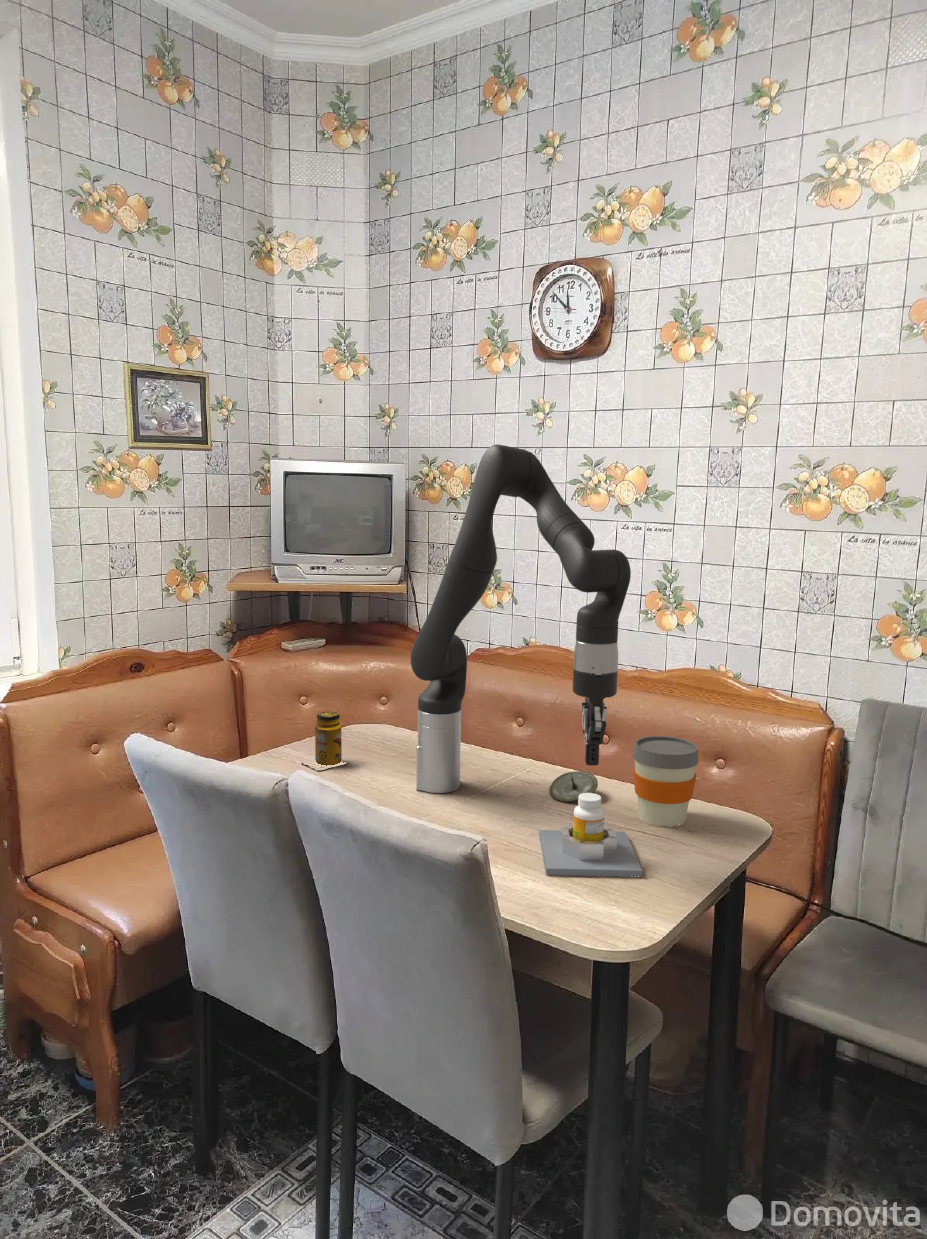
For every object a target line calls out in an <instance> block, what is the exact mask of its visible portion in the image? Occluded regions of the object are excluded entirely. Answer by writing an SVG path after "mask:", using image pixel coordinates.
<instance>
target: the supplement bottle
mask: <svg viewBox="0 0 927 1239" xmlns="http://www.w3.org/2000/svg"><path fill="white" fill-rule="evenodd" d="M577 802H578V803H577V804H578V805H577V806H575V808H574V810H573V822H572V823H573V837H574V838H576V839H579V840H581V841H598V842H600V841H602V840H603V839H604V826H605V816H606V815H605V810H604V809H603V807H601V806H602V797H601V795H600V794H597V793H595V792H594V793H582V794H580V795H579V797H578V801H577Z"/></svg>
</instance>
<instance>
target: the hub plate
mask: <svg viewBox="0 0 927 1239" xmlns="http://www.w3.org/2000/svg"><path fill="white" fill-rule="evenodd" d="M538 831H539V832H538V833H539V835H538V837H539V842H540V846H541V847H540V848H541V853H542V857H543V865H544V870H545V875H546V876H563V877H564V876H571V877H572V876H573V877H606V876H609V877H611V878H612V876H613V878H614V876H619V877H618V878H620V877H621V878H642V877H643V876H642V874H643V870H642V867H641V865H640V862H639V861H638V858H637V856H636V853H635V851H634V849H633V846H632V844H631V840H630V839H629V837H628V835H627V832H626V831H615V830H614V831H615V834H616V837H617V854H616V855H614V856H612V857H610V858H608V859H606V860H604V861H580V860H578V859H575V858H573V857H570V856H568V855H566V854H563V853H562V849H561V844H560V835H561V829H539V830H538ZM631 876H633V877H631ZM635 876H636V877H635ZM638 876H639V877H638ZM641 876H642V877H641Z"/></svg>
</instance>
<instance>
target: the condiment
mask: <svg viewBox="0 0 927 1239" xmlns="http://www.w3.org/2000/svg"><path fill="white" fill-rule="evenodd" d="M340 718H341V716H340V713H339V712H337V711H332V710H326V711H321V712H318V713H317V715H316V725H315V727H314V736H315V737H314V740H315V742H314V744H315V745H314V749H315V750H314V751H315V753H314V755H315V756H314V757H315V759H314V760H316V762H317V763H318V764H321V765H326V766H327V765H335V764H338V763H340V762H341V760H342V755H343V754H342V750H343V748H342V747H343V746H342V725H341V723H340V722H341V720H340ZM342 761H343V760H342Z"/></svg>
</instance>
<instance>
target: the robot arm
mask: <svg viewBox="0 0 927 1239" xmlns="http://www.w3.org/2000/svg"><path fill="white" fill-rule="evenodd" d="M475 473H476V474H475V475H474V479H473V484H472V488H471V492H470V495H469V500H468V503H467V507H466V510H465V514H464V517H463V519H462V523H461V526H460V529H459V533H458V535H457V538H456V541H455V543H454V545H453V546H452V549H451V553H450V554H449V558H448V560H447V564H446V567H445V570H444V572H443V576H442V578H441V581H440V584H439V586H438V588H437V589H438V590H437V592H436V595H435V597H434V599H433V603H432V606H431V608H430V610H429V612H428V614H427V617H426V619H425V621H424V623H423V625H422V627H421V629H420V630H419V633H418V635H417V637H416V639H415V641H414V643H413V646H412V648H411V652H410V666H411V667H410V668H411V669H412V672H413V674H414V675H415V676H416V677H417V678H418V679H419V680H421V681H427V682H429V684H428V685H427V687H426V688H425V689H424V690H423V692H422V693H420V695H419V696H418V698H417V744H416V790H417V791H424V792H426V793H433V794H445V793H452V792H454V791H456V790H458V789H460V786H461V747H462V746H461V745H462V744H461V742H462V741H461V736H462V735H461V734H462V733H461V731H462V730H461V729H462V728H461V726H462V702H463V699H464V698H465V694H466V689H467V688H466V685H467V684H466V683H467V670H468V669H467V668H468V654H467V649H466V646H465V644H464V643H465V642H464V641H463V640H462V638H460V637H459V636H458V635H457V634H455V633H456V632H457V630H458V627H459V626H460V624H461V623H462V622H463V620H464V619H465V618H466V616H468V614H469V613H470V612H471V611H472V610H473V608H474V607H475V606H476V605H477V604H478V602H479V601H480V600H481V599H482V597H483V596H484V594H485V592H486V590H487V589H488V586H489V584H490V581H491V578H492V576H493V574H494V571H495V568H496V566H497V565H496V564H497V561H498V556H497V555H498V554H497V546H496V541H495V537H494V530H493V519H494V515H495V514H494V513H495V509H496V506H497V505H498V502H499V499H500V497H501V496H506V497H511V498H520V499H522V500H523V501H525V502H527V503H528V504H529V505H530V506H531V507H532V508H533V510H534V511H535V512H536V523H537V528H538V530H539V532H540V534H541V536H542V538H543V539H544V540H545V541H546V543H547V544H548V545H549V546H550V547H551V548H552V550H553V551H554V552H555V553H556V554H557V555H558V558H559V560H560V563H561V566H562V568H563V570H564V573H565V575H566V578H567V580H568V583H569V584H570V585H571V586H572V587H573V588H575V589H576V590H578V591H580V592H583V593H590V594H591V593H596V595H595V598H594V600H593V601H592V602H590V603H589V604H586V605H584V606H581V607H580V608H579V609H578V611H577V614H576V624H575V625H576V626H575V628H576V629H575V643H574V644H575V645H574V650H573V667H572V669H573V671H572V691H573V692H572V693H574V694H575V695H577V696H578V697H582V698H584V702H583V701H582V702H581V704H580V706H581V707H580V711H581V713H582V714H581V715H582V716H581V727H582V729H583V730H582V733H583V736H584V737H583V740H584V743H585V744H584V747H585V749H584V762H585V764H586V765H587V766H593V767H594V766H598V765H599V763H600V762H599V761H600V758H599V757H600V746H602V745H603V743H604V736H605V731H606V727H607V722H606V718H607V713H608V707H607V706H606V704H605V702H604V699H606V698H608V699H609V698H612V697H614V696H616V694H617V692H618V674H619V673H618V671H619V647H618V641H619V640H618V639H619V637H618V636H619V618H620V614H621V612H622V610H623V606H624V602H625V599H626V596H627V593H628V589H629V587H630V584H631V583H630V582H631V575H632V574H631V572H632V569H631V565H630V562H629V559H628V557H627V556H626V555H625V553H624V552H622V551H621V550H618V549H593V548H594V547H595V541H596V540H595V535H594V534H593V532H592V531H591V529H590V528H589V527H588V525H586V524H585V523H584V521H582V519H581V518H580V516H578V515H577V514H576V513H575V512H574V511H573V509H572V508H571V507H570V506H569V505H568V503H566V501H565V499H564V498H563V497H562V496H561V494H560V492H559V491H558V489H557V487H556V486H555V484H554V483H553V481H552V479H551V478H550V476H549V475H548V473H547V471H546V469H545V468H544V466H543V464H542V463H541V461H540V460H539V458H537V456H536V455H535V454H534V453H533V452H531V451H529V450H527V449H523V448H518V447H513V446H509V445H504V444H492V445H491V446H489V447H488V448H486V450H485V451H484V452H483V455H482V456H481V458H480V460H479V463H478V466H477V469H476V472H475Z"/></svg>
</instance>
